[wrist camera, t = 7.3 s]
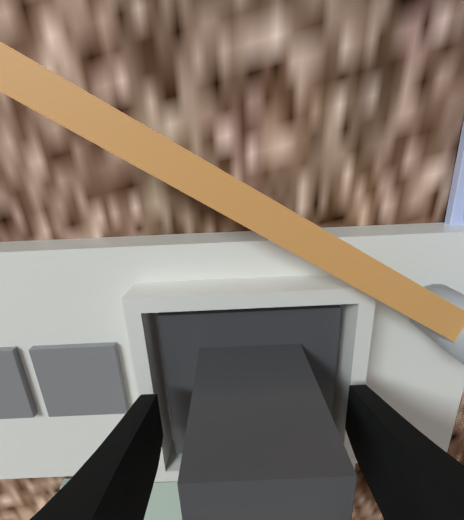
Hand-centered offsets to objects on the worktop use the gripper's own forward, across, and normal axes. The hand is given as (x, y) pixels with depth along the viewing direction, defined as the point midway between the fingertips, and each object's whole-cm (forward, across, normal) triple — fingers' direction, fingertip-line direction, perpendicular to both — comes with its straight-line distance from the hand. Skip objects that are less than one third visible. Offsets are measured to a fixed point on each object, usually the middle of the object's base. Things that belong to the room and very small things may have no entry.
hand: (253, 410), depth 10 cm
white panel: (+4, +2, 0) cm, 5 cm away
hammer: (+2, -1, -7) cm, 7 cm away
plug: (+2, 0, 0) cm, 2 cm away
